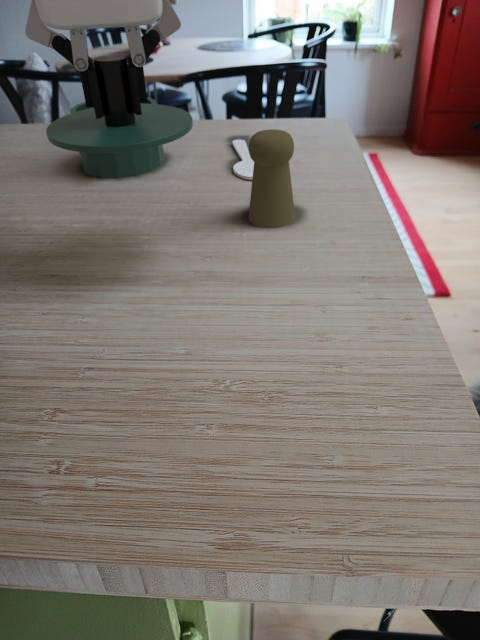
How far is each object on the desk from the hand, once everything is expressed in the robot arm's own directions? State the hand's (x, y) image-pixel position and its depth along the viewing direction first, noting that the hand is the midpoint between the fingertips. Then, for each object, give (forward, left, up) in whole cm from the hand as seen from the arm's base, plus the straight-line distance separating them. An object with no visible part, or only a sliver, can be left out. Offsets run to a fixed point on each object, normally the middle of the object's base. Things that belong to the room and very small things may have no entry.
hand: (118, 111), depth 48 cm
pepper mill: (+13, +11, -16) cm, 24 cm away
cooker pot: (-12, +29, -16) cm, 35 cm away
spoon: (+7, +33, -16) cm, 37 cm away
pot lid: (0, 0, -2) cm, 2 cm away
